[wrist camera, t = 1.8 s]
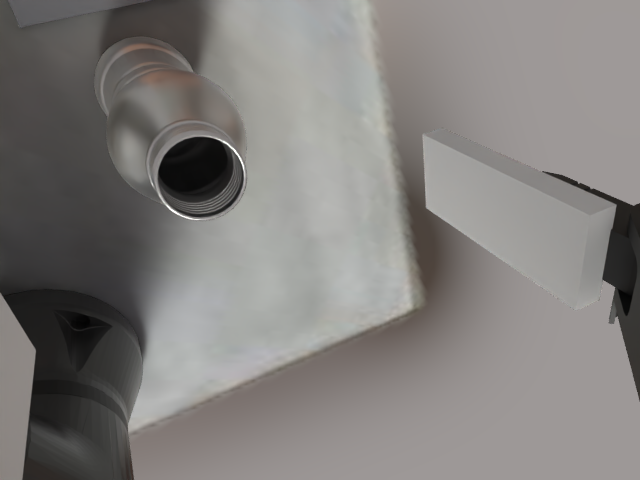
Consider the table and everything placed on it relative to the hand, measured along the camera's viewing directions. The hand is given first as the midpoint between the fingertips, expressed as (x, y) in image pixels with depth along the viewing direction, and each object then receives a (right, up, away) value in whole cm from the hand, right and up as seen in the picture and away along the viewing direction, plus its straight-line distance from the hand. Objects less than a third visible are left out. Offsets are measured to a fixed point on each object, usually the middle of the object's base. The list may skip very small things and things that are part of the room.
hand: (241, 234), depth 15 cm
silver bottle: (-10, +11, +21) cm, 26 cm away
